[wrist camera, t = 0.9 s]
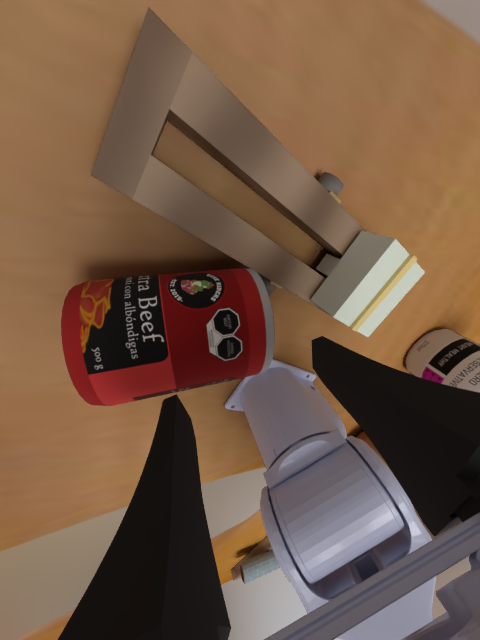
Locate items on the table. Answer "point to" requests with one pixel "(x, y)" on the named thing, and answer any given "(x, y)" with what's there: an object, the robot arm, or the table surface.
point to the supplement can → (446, 359)
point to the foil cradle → (258, 550)
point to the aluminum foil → (258, 566)
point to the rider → (366, 281)
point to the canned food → (165, 333)
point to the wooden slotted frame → (228, 149)
